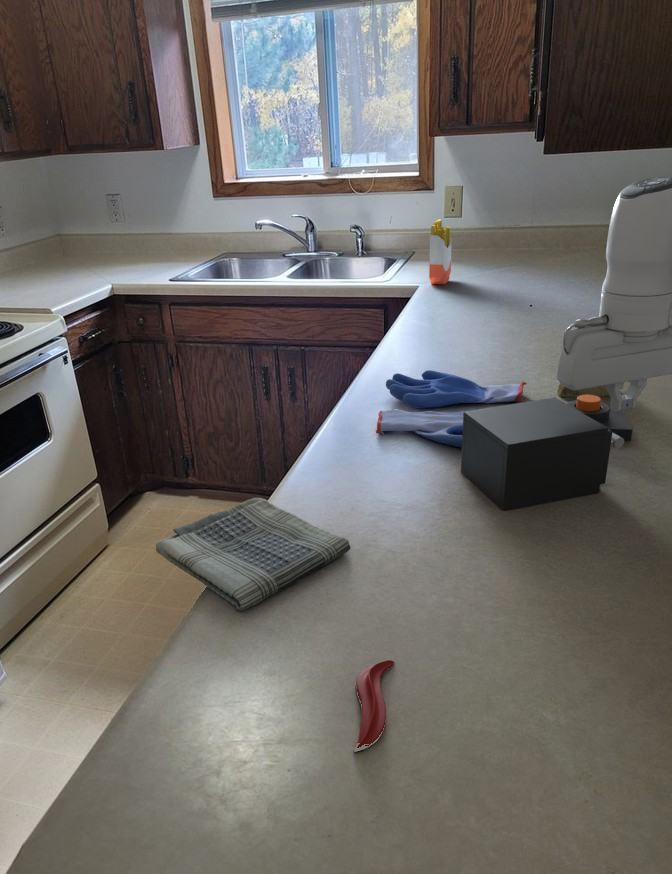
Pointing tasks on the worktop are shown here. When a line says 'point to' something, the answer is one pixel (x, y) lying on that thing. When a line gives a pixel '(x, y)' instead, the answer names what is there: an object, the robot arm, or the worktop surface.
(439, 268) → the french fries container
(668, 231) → the robot arm
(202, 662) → the worktop surface
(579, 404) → the button
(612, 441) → the drawer
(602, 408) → the push button unit
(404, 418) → the pair of gloves
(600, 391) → the rock
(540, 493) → the matte charcoal box
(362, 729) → the cayenne pepper
